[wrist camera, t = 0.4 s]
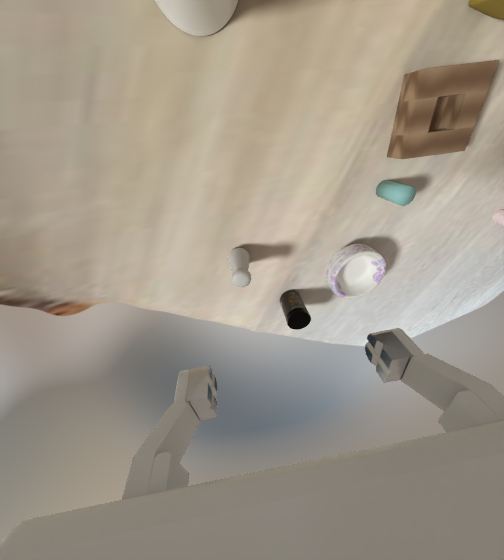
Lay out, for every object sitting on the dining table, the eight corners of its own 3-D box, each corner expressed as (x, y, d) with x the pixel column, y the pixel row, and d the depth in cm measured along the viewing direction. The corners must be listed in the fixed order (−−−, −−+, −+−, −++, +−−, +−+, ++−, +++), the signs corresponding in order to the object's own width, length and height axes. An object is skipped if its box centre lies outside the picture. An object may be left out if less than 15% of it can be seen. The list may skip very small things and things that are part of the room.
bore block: (404, 74, 43) (424, 68, 39) (472, 66, 43) (499, 59, 39) (386, 157, 51) (401, 159, 46) (445, 149, 51) (464, 150, 47)
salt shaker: (249, 244, 59) (256, 270, 48) (248, 263, 62) (254, 291, 51) (227, 244, 58) (229, 269, 47) (227, 263, 61) (228, 291, 50)
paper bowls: (376, 266, 68) (393, 280, 61) (332, 291, 71) (343, 308, 65) (361, 228, 60) (378, 239, 53) (311, 259, 63) (322, 273, 57)
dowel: (377, 180, 53) (400, 187, 47) (393, 178, 54) (418, 185, 47) (374, 198, 56) (395, 206, 49) (389, 195, 56) (412, 204, 49)
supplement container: (276, 294, 69) (284, 317, 60) (296, 286, 68) (307, 308, 59) (283, 308, 73) (291, 332, 64) (302, 300, 72) (313, 323, 63)
